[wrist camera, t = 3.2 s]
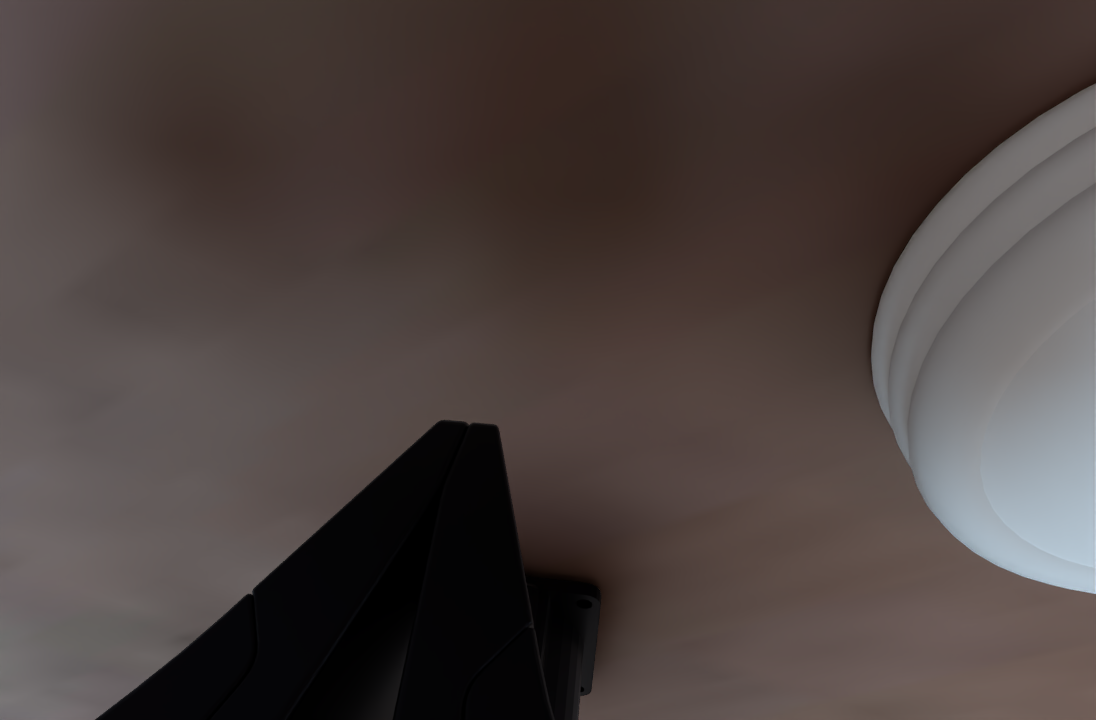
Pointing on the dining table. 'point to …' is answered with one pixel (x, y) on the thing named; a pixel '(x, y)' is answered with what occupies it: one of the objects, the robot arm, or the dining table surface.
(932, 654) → the dining table surface
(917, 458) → the white round dish
